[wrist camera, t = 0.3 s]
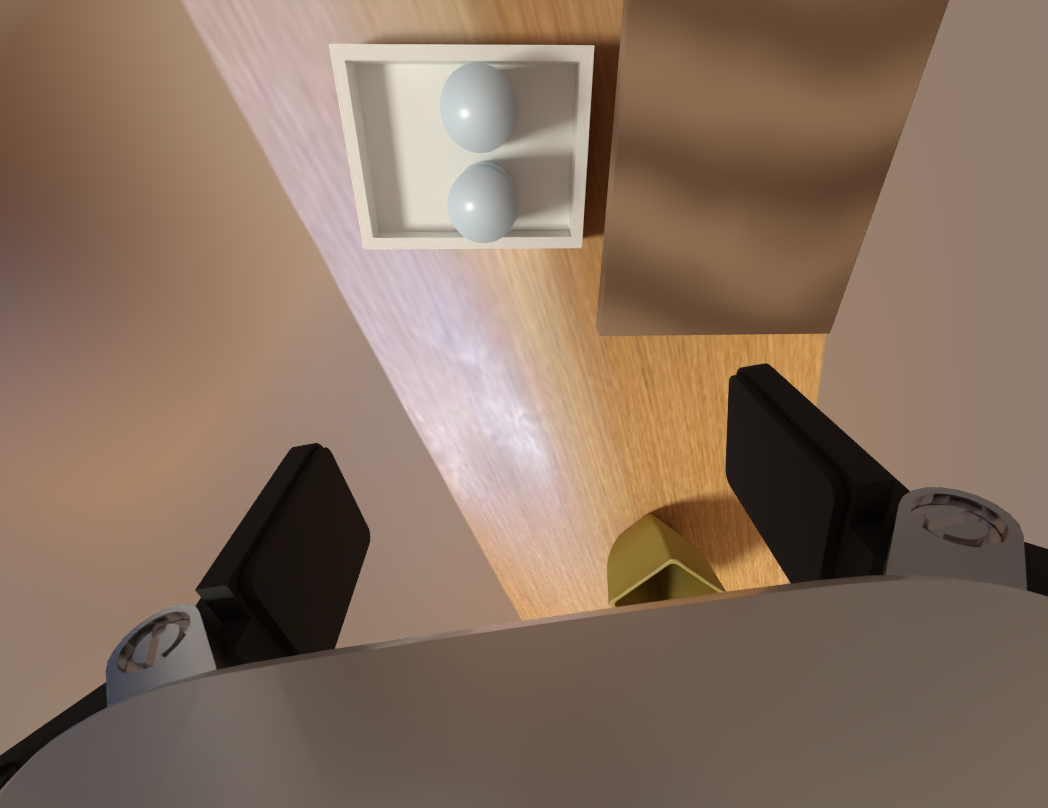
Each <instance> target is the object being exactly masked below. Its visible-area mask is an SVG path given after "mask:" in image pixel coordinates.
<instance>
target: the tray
mask: <svg viewBox="0 0 1048 808" xmlns="http://www.w3.org/2000/svg"><path fill="white" fill-rule="evenodd" d="M329 49H330V55H331V61H332V67H333V72H334V78H335V84H336V90H337V96H338V102H339V108H340V114H341V120H342V126H343V131H344V137H345V143H346V149H347V155H348V161H349V167H350V173H351V179H352V184H353V190H354V196H355V202H356V208H357V214H358V220H359V226H360V232H361V237H362V243H363V249H509V248H582V237H583V221H584V205H585V189H586V173H587V157H588V141H589V125H590V109H591V93H592V77H593V61H594V45H448V44H329ZM474 62H479V63H485V64H488V65H491V66H493V67H495V68H496V69H498V70H499V71H500V72H501V73H502V74H503V75H504V76H505V77H506V78H507V80H508V81H509V82H510V84H511V86H512V88H513V91H514V93H515V97H516V102H517V118H516V123H515V126H514V129H513V131H512V133H511V135H510V137H509V138H508V139H507V141H506V142H505V143H504V144H503V145H501V146H500V147H499V148H497V149H495V150H493V151H490V152H486V153H475V152H470V151H468V150H465V149H464V148H462V147H460V146H459V145H458V144H456V143H455V142H454V141H453V139H452V138H451V137H450V136H449V134H448V133H447V131H446V129H445V127H444V124H443V122H442V118H441V112H440V98H441V93H442V90H443V87H444V85H445V83H446V81H447V79H448V78H449V76H450V75H451V74H452V73H453V72H454V71H455V70H456V69H458V68H459V67H461V66H463V65H465V64H468V63H474ZM480 161H490V162H494V163H497V164H499V165H500V166H502V167H503V168H504V169H505V170H506V171H507V172H508V173H509V174H510V176H511V177H512V179H513V181H514V184H515V189H516V196H517V204H518V210H517V217H516V220H515V222H514V225H513V226H512V228H511V230H510V231H509V232H508V233H507V234H506V235H505V236H504V237H502V238H501V239H499V240H497V241H494V242H490V243H478V242H474V241H471V240H469V239H467V238H465V237H464V236H463V235H461V234H460V233H459V232H458V231H457V230H456V228H455V227H454V225H453V223H452V222H451V219H450V217H449V213H448V195H449V192H450V189H451V187H452V185H453V183H454V182H455V181H456V179H457V178H458V177H459V176H460V175H461V174H462V172H463V171H464V170H465V169H466V168H467V167H469V166H470V165H472V164H474V163H476V162H480Z"/></svg>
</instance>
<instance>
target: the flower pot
mask: <svg viewBox="0 0 1048 808" xmlns="http://www.w3.org/2000/svg"><path fill="white" fill-rule="evenodd" d="M607 581H608V599H609V605H610V606H611V607H612V608H614V607H622V606H629V605H636V604H643V603H650V602H657V601H664V600H671V599H678V598H685V597H692V596H700V595H707V594H714V593H721V592H726V591H725V589H724V587H723V586H722V584H721V582H720V581H719V579H718V578H717V576H716V574H715V573H714V571H713V569H712V568H711V566H710V565H709V563H708V561H707V560H706V558H705V557H704V556H703V554H702V553H701V552H700V551H699V550H698V549H697V548H696V547H695V546H694V545H693V544H692V543H691V542H690V541H688V540H687V539H686V538H685V537H683V536H682V535H680V534H679V533H678V532H676V531H675V530H673V529H672V528H670V527H669V526H668V525H666V524H665V523H663V522H662V521H661V520H659V519H658V518H657V517H655V516H654V515H652V514H647V515H646V516H644V517H643V518H642V519H640V520H639V521H638V522H636V523H635V524H634V525H633V526H631V527H630V528H629V529H627V530H626V531H625V532H623V533H622V534H621V535H619V536H618V538H617V539H616V541H615V543H614V544H613V546H612V548H611V551H610V554H609V558H608V564H607Z"/></svg>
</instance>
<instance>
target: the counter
mask: <svg viewBox="0 0 1048 808" xmlns="http://www.w3.org/2000/svg"><path fill="white" fill-rule="evenodd" d="M948 1H949V0H624V4H623V16H622V27H621V39H620V51H619V63H618V75H617V87H616V98H615V110H614V122H613V134H612V146H611V158H610V169H609V181H608V193H607V205H606V217H605V229H604V240H603V252H602V264H601V276H600V288H599V300H598V311H597V323H596V327H597V330H598V332H599V334H600V336H646V335H734V334H822V333H830V331H831V329H832V325H833V323H834V320H835V317H836V315H837V312H838V309H839V306H840V303H841V300H842V298H843V295H844V292H845V289H846V287H847V284H848V281H849V278H850V275H851V273H852V270H853V267H854V264H855V262H856V258H857V256H858V253H859V250H860V248H861V245H862V241H863V239H864V236H865V234H866V230H867V228H868V225H869V222H870V219H871V217H872V214H873V211H874V208H875V205H876V203H877V200H878V197H879V194H880V192H881V189H882V186H883V183H884V180H885V177H886V175H887V172H888V169H889V166H890V164H891V161H892V158H893V155H894V152H895V150H896V147H897V144H898V141H899V139H900V136H901V133H902V130H903V127H904V124H905V121H906V119H907V116H908V113H909V111H910V107H911V105H912V102H913V99H914V97H915V94H916V91H917V88H918V85H919V82H920V80H921V77H922V74H923V71H924V68H925V66H926V63H927V60H928V57H929V55H930V52H931V49H932V46H933V43H934V41H935V38H936V35H937V32H938V29H939V27H940V24H941V21H942V18H943V15H944V13H945V10H946V7H947V4H948Z"/></svg>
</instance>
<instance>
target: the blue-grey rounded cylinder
mask: <svg viewBox="0 0 1048 808" xmlns="http://www.w3.org/2000/svg"><path fill="white" fill-rule="evenodd" d="M517 210H518V204H517V196H516V189H515V184H514V181H513V179H512V177H511V176H510V174H509V173H508V172H507V171H506V170H505V169H504V168H503V167H502V166H500V165H499V164H497V163H494V162H490V161H480V162H476V163H474V164H472V165H470V166H469V167H467V168H466V169H465V170H464V171H463V172H462V174H461V175H460V176H459V177H458V178H457V179H456V181H455V182H454V183H453V185H452V187H451V189H450V192H449V195H448V213H449V217H450V219H451V222H452V223H453V225H454V227H455V228H456V230H457V231H458V232H459V233H460V234H461V235H463V236H464V237H465V238H467V239H469V240H471V241H474V242H478V243H490V242H494V241H497V240H499V239H501V238H502V237H504V236H505V235H506V234H507V233H508V232H509V231H510V230H511V228H512V226H513V225H514V222H515V220H516V217H517Z"/></svg>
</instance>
